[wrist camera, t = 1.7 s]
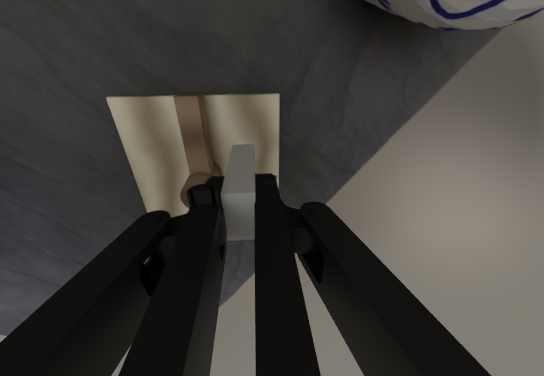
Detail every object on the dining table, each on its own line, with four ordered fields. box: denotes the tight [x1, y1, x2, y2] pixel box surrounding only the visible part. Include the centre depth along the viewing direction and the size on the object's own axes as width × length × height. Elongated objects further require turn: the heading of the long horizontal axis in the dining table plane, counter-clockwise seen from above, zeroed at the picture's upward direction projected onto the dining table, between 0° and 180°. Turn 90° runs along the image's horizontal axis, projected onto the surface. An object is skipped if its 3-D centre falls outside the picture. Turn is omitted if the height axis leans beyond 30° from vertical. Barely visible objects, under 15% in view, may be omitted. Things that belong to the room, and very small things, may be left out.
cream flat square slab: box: [106, 93, 280, 217], centre depth 34 cm, size 22×22×1 cm
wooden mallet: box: [173, 93, 222, 208], centre depth 30 cm, size 22×4×7 cm, turn 1°
